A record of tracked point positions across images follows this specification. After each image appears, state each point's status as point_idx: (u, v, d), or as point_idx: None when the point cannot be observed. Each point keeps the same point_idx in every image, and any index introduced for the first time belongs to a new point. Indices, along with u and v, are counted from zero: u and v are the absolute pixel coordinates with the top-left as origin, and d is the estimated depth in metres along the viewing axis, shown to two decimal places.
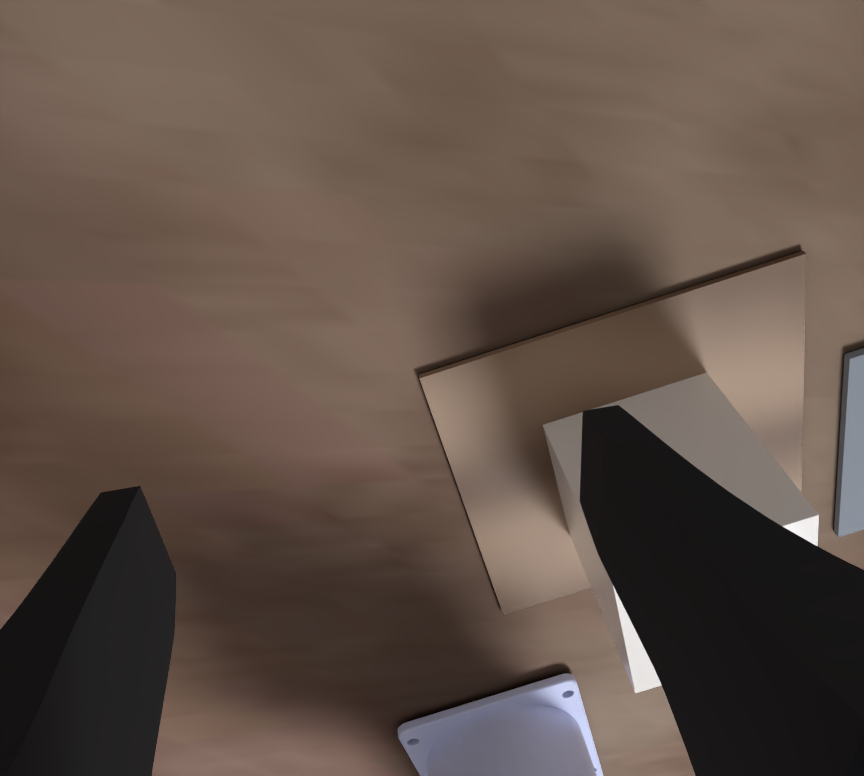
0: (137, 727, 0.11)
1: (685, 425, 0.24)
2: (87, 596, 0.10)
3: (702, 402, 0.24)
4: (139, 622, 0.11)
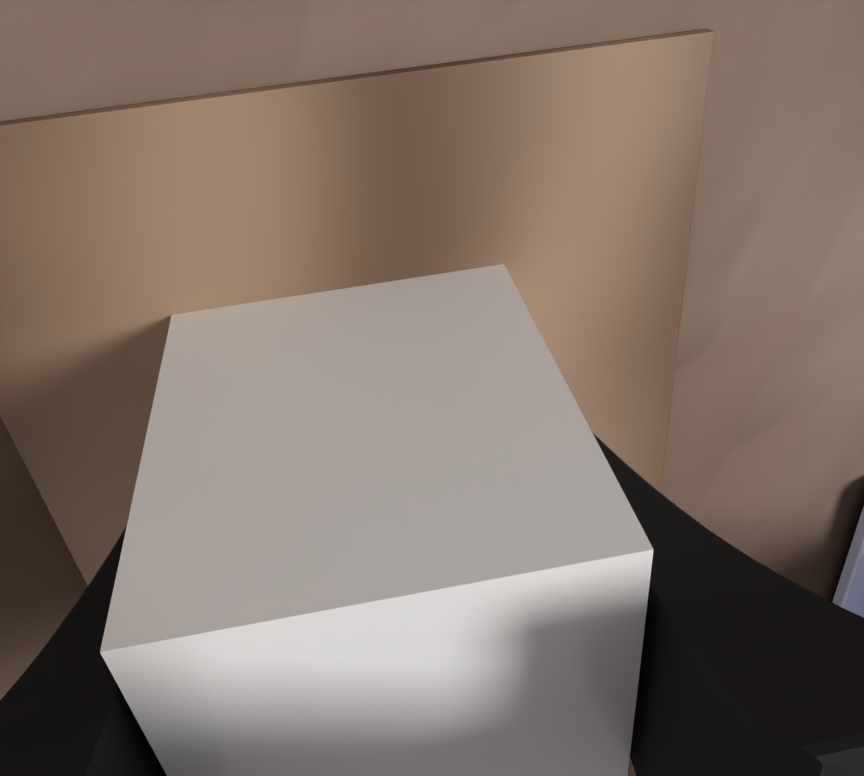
0: None
1: None
2: None
3: None
4: None
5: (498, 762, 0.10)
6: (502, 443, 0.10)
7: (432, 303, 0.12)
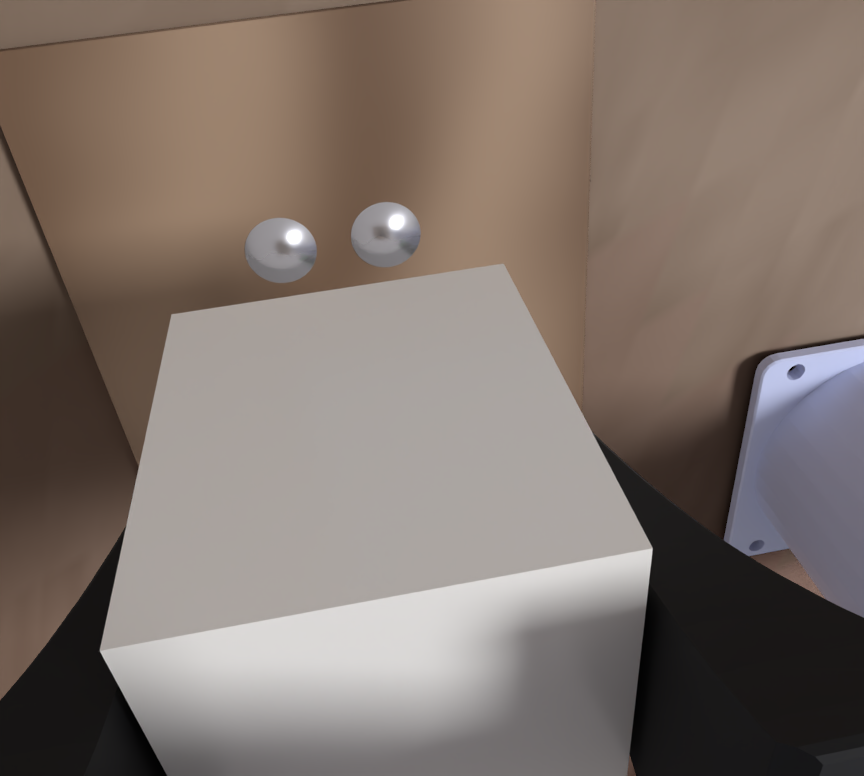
0: None
1: None
2: None
3: None
4: None
5: (497, 761, 0.10)
6: (501, 442, 0.10)
7: (432, 303, 0.12)
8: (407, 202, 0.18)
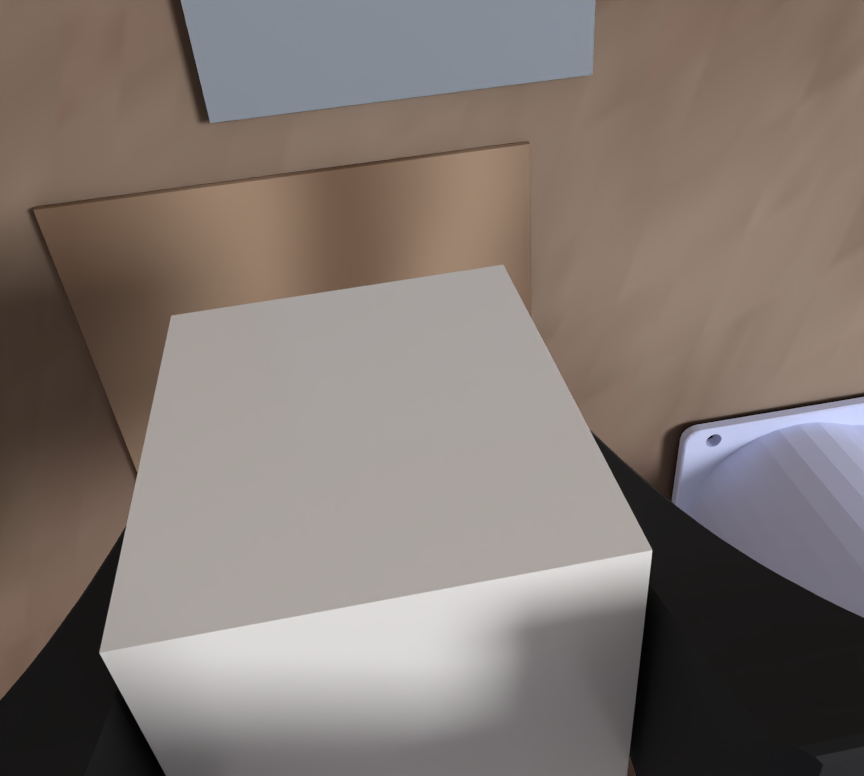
0: None
1: None
2: None
3: None
4: None
5: (497, 762, 0.10)
6: (501, 444, 0.10)
7: (431, 304, 0.12)
8: None
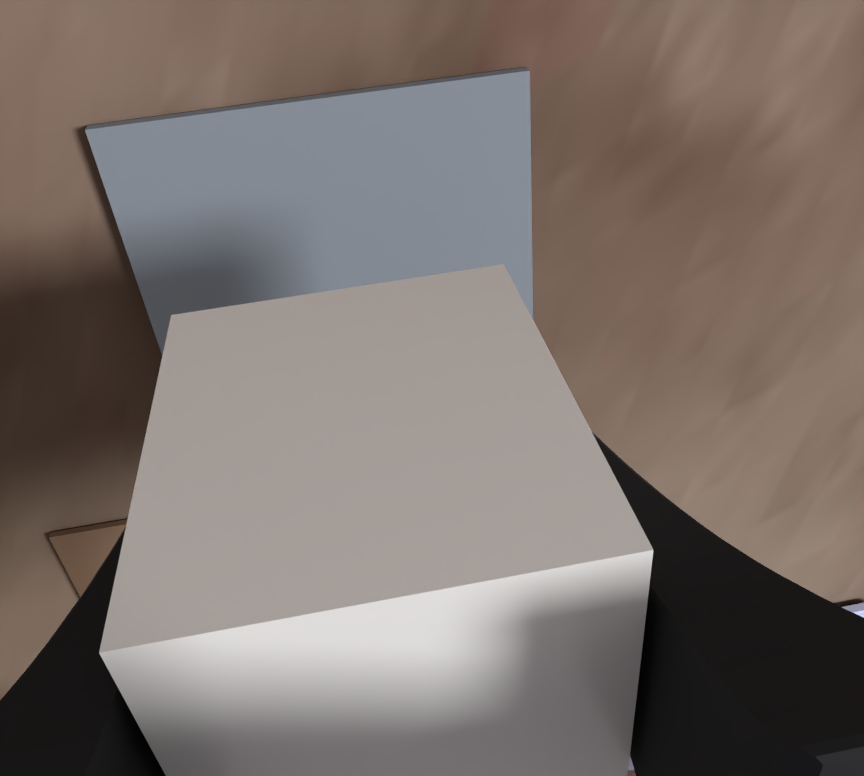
0: None
1: None
2: None
3: None
4: None
5: (498, 763, 0.10)
6: (501, 443, 0.10)
7: (432, 304, 0.12)
8: None
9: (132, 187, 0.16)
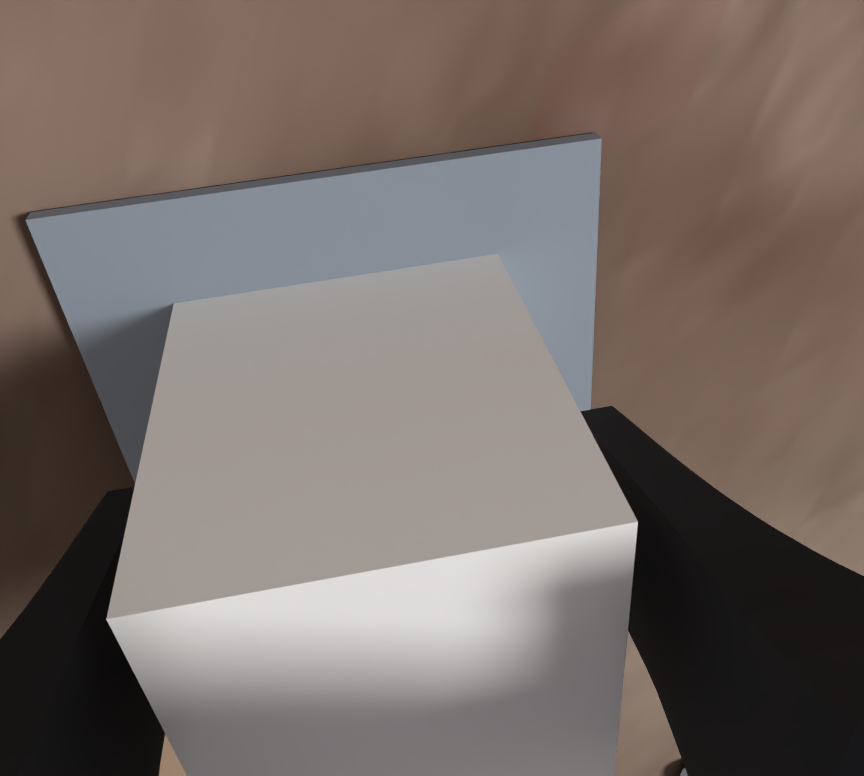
0: (145, 726, 0.11)
1: None
2: (95, 595, 0.10)
3: None
4: None
5: (491, 733, 0.10)
6: (494, 423, 0.10)
7: (427, 291, 0.13)
8: None
9: (91, 289, 0.13)
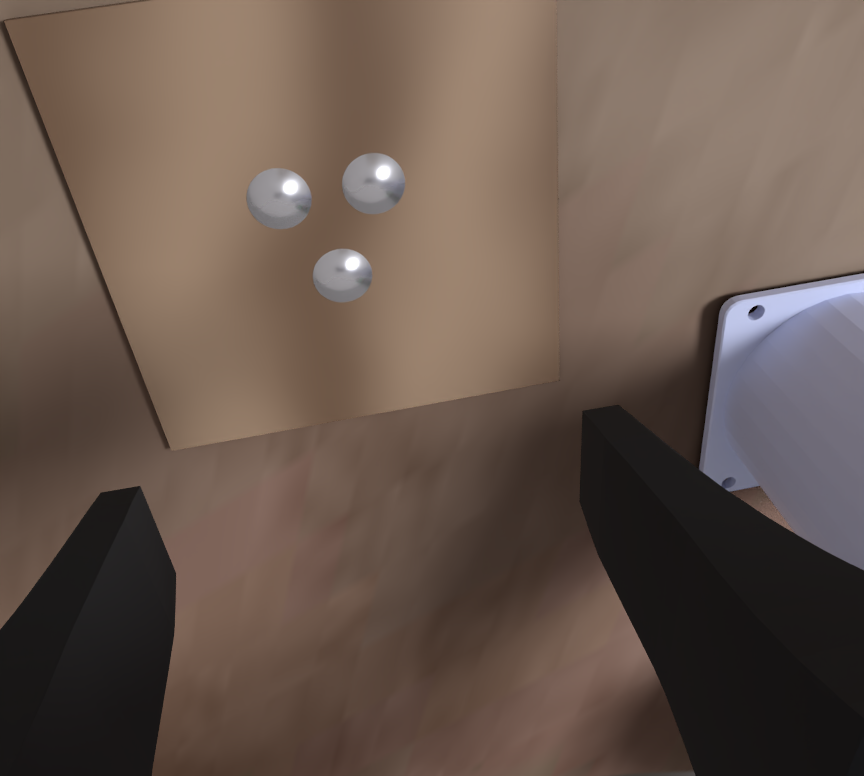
0: (137, 727, 0.11)
1: None
2: (87, 596, 0.10)
3: None
4: (139, 622, 0.11)
5: None
6: None
7: None
8: (392, 153, 0.20)
9: None
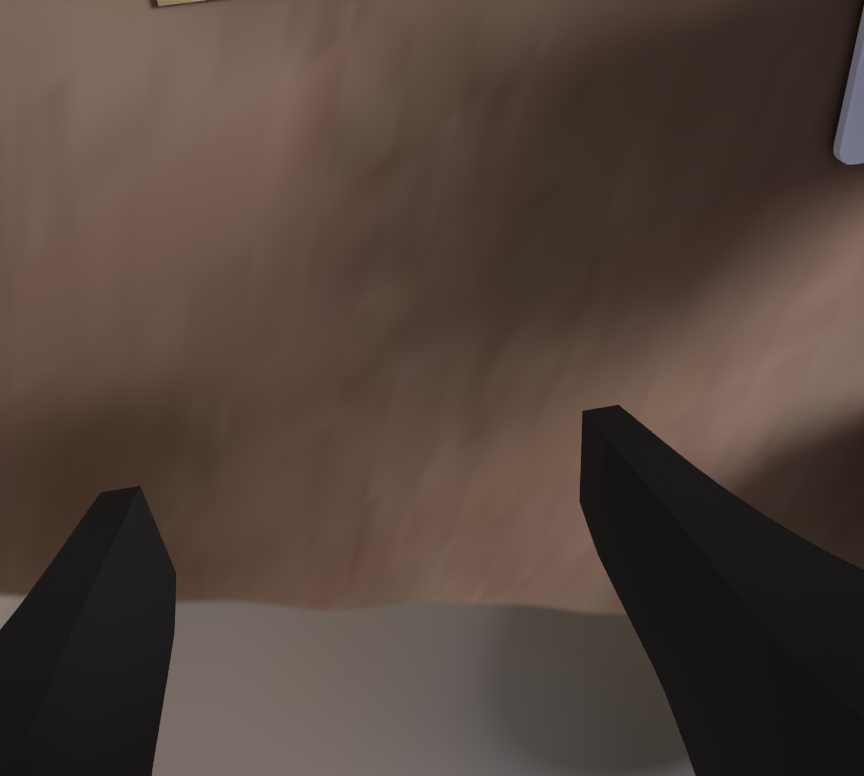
0: (137, 727, 0.11)
1: None
2: (87, 596, 0.10)
3: None
4: (139, 622, 0.11)
5: None
6: None
7: None
8: None
9: None
